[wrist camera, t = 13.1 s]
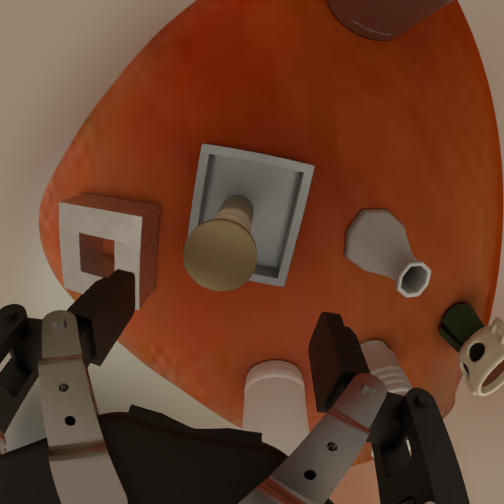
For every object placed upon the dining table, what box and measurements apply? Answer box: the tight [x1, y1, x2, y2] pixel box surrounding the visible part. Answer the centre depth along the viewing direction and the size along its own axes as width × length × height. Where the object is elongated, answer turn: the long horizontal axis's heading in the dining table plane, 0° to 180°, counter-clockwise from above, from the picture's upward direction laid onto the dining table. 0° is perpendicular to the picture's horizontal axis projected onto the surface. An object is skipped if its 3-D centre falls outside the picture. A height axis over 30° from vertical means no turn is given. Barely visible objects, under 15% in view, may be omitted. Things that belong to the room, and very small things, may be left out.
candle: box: [360, 340, 412, 457], centre depth 28 cm, size 7×7×15 cm
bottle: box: [242, 360, 309, 456], centre depth 23 cm, size 8×8×30 cm
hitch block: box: [59, 193, 161, 310], centre depth 28 cm, size 10×10×5 cm
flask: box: [344, 209, 431, 298], centre depth 24 cm, size 7×7×10 cm
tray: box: [184, 144, 315, 287], centre depth 27 cm, size 12×10×3 cm
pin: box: [183, 195, 257, 291], centre depth 22 cm, size 4×4×12 cm
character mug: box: [439, 303, 504, 396], centre depth 27 cm, size 11×7×13 cm, turn 2°
